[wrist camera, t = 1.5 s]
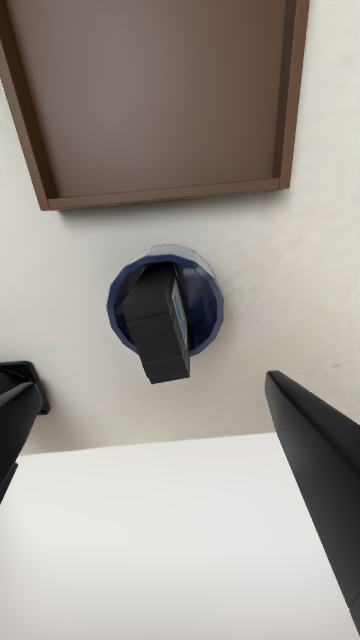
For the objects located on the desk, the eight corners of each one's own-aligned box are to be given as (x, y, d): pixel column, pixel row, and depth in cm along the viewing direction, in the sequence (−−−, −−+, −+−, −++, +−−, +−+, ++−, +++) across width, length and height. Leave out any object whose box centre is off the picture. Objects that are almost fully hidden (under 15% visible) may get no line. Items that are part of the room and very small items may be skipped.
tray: (57, 210, 16) (40, 210, 15) (-12, -38, 12) (-50, -86, 10) (277, 190, 16) (289, 188, 14) (301, -86, 11) (326, -148, 9)
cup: (131, 335, 21) (119, 363, 17) (114, 248, 17) (95, 259, 14) (216, 330, 20) (223, 358, 16) (215, 240, 17) (223, 249, 13)
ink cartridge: (190, 317, 20) (192, 382, 12) (163, 323, 20) (151, 389, 13) (175, 259, 17) (167, 295, 10) (146, 266, 18) (119, 307, 11)
